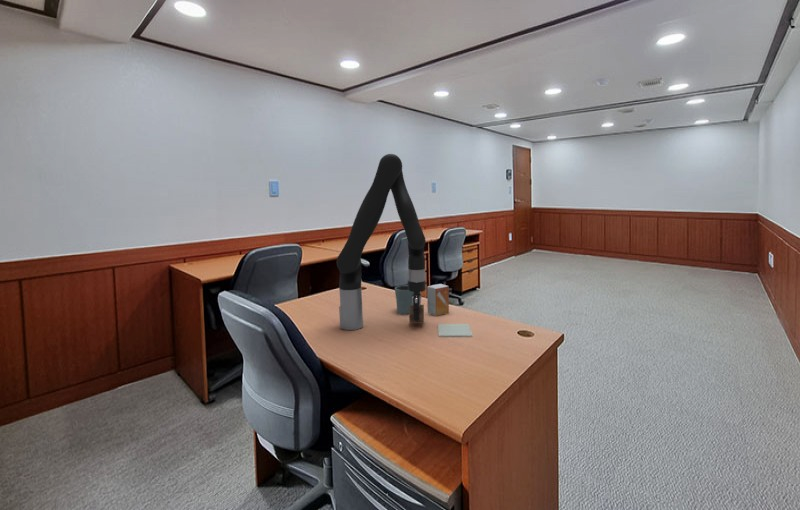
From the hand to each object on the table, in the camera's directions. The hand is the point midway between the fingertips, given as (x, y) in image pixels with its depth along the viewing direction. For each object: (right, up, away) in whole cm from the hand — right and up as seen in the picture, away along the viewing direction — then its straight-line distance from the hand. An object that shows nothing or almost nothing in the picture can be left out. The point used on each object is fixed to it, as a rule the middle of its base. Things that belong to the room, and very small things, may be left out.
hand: (416, 317), depth 161 cm
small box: (+11, -1, +16) cm, 19 cm away
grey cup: (-4, -1, +19) cm, 19 cm away
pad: (+15, -4, -8) cm, 17 cm away
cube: (0, -1, 0) cm, 1 cm away
